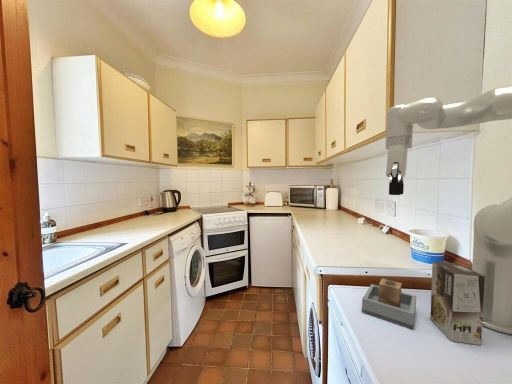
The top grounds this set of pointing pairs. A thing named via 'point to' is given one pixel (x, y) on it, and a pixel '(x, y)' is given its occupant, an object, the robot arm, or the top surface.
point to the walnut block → (390, 292)
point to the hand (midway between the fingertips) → (396, 194)
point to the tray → (390, 308)
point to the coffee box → (457, 302)
